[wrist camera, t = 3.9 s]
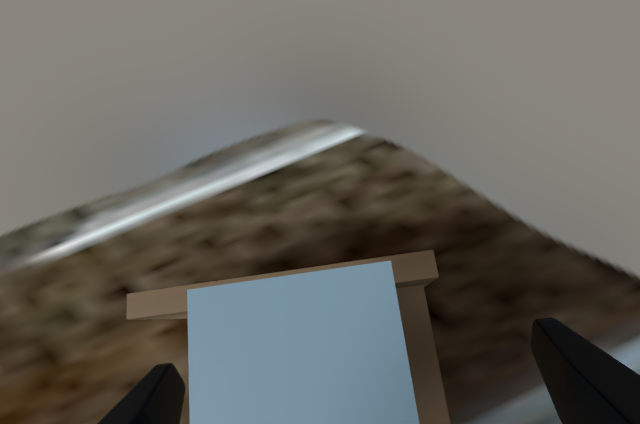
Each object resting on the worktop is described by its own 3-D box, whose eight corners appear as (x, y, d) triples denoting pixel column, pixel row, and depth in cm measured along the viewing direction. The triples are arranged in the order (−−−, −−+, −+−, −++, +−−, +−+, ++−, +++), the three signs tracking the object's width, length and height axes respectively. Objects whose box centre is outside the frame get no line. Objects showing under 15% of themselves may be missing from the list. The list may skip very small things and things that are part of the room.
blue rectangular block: (408, 435, 14) (501, 897, 3) (342, 441, 15) (199, 879, 3) (385, 301, 16) (390, 260, 4) (326, 308, 16) (187, 290, 5)
